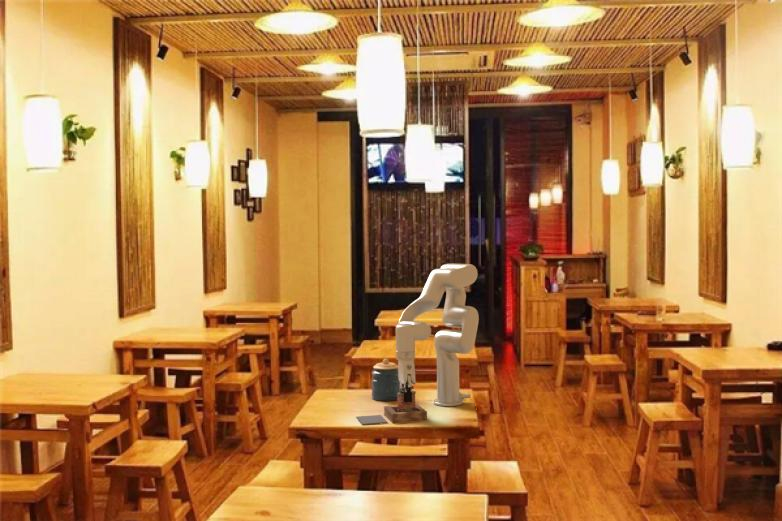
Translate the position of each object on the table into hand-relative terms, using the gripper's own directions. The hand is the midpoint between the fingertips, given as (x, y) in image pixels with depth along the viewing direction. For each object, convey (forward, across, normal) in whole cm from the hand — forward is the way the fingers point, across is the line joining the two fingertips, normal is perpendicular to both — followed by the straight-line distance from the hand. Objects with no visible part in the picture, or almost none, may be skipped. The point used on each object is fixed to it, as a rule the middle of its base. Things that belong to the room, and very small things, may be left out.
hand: (406, 400), depth 332 cm
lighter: (+4, 0, 0) cm, 4 cm away
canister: (+7, +37, 0) cm, 37 cm away
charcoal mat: (+7, -1, +15) cm, 16 cm away
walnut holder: (+7, 0, +1) cm, 7 cm away
